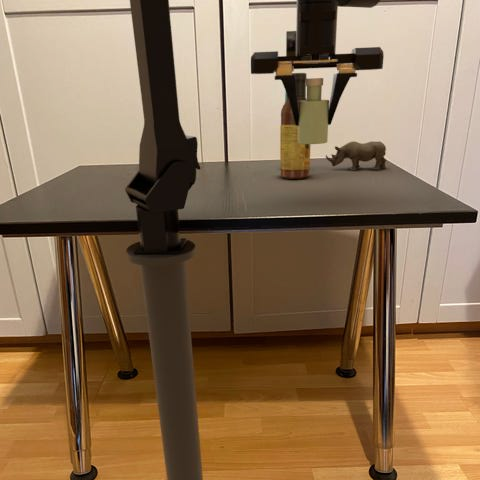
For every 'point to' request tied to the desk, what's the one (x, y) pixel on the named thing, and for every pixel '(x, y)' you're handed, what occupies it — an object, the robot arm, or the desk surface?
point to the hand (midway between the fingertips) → (313, 125)
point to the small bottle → (313, 115)
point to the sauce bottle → (293, 138)
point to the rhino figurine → (360, 154)
